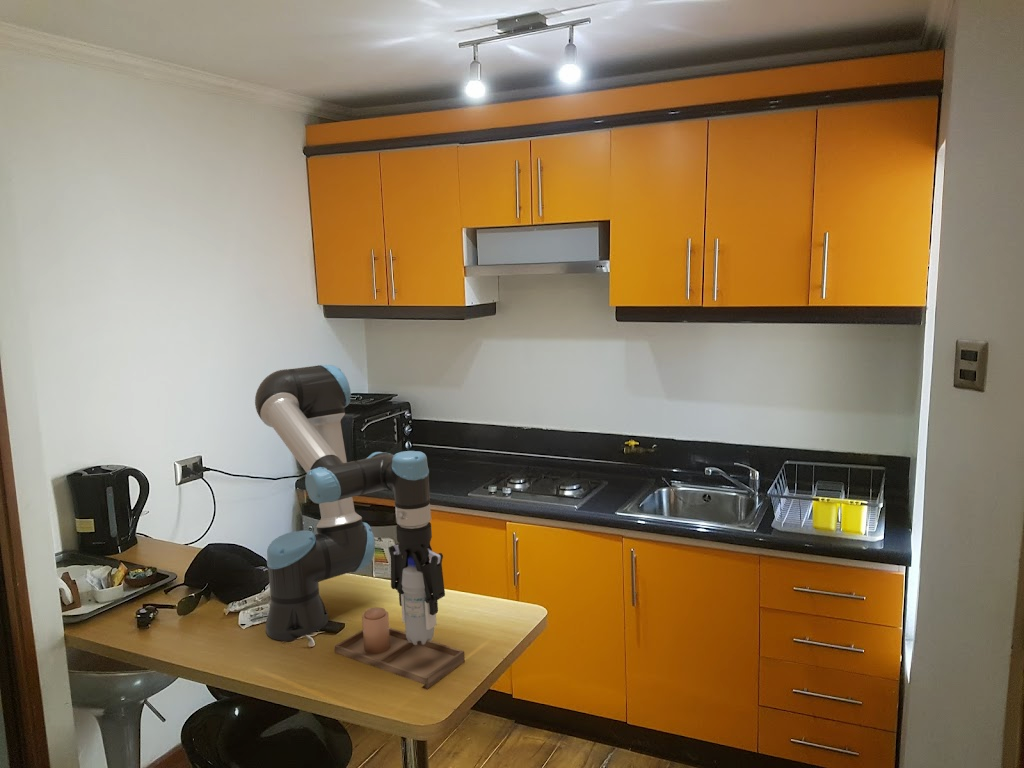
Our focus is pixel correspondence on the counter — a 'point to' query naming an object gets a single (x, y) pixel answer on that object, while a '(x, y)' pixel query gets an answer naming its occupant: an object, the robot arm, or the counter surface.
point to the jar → (376, 630)
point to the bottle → (415, 605)
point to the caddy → (406, 657)
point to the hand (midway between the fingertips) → (419, 623)
